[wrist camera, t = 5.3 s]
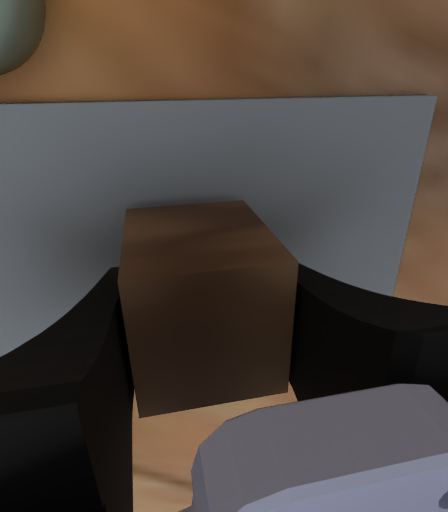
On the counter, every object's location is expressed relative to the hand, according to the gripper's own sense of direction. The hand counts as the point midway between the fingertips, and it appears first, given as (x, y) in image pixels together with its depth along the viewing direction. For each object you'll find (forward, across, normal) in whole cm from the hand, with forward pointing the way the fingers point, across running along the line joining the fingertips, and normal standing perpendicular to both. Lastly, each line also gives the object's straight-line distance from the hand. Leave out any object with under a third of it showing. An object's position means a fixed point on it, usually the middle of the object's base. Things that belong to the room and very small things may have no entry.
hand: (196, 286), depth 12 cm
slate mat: (+4, -1, 0) cm, 4 cm away
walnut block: (+2, 0, 0) cm, 2 cm away
